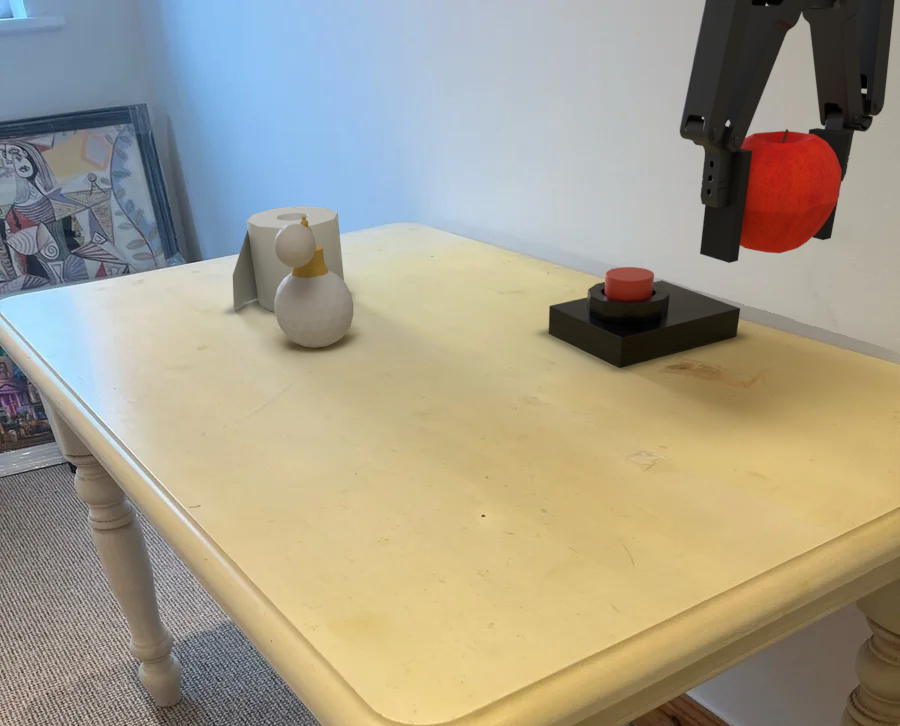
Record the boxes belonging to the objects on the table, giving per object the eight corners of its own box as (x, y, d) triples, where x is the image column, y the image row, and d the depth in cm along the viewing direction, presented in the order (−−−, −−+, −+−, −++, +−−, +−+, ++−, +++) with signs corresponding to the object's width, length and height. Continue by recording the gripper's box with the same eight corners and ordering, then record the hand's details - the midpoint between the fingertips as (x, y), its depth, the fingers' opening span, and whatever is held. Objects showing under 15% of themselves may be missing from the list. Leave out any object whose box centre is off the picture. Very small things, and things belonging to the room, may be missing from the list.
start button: (631, 286, 89) (633, 264, 88) (662, 297, 86) (664, 275, 85) (594, 294, 87) (595, 272, 86) (624, 306, 84) (626, 283, 83)
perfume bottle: (347, 326, 95) (335, 200, 88) (370, 358, 87) (359, 223, 80) (273, 336, 93) (255, 208, 86) (290, 369, 85) (272, 232, 78)
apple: (697, 263, 61) (710, 138, 57) (712, 232, 67) (725, 117, 63) (826, 270, 59) (850, 140, 54) (830, 237, 65) (852, 118, 60)
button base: (659, 306, 96) (664, 261, 94) (736, 336, 89) (743, 288, 86) (548, 333, 91) (549, 286, 88) (619, 367, 83) (623, 317, 80)
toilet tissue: (215, 313, 99) (200, 228, 94) (304, 281, 108) (295, 202, 103) (273, 329, 95) (261, 240, 90) (362, 294, 103) (355, 212, 98)
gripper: (902, -187, 56) (829, 211, 70) (633, -191, 48) (608, 261, 61) (1019, -204, 51) (916, 231, 64) (739, -212, 43) (687, 288, 56)
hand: (766, 245), depth 63 cm, fingers closed on apple, 8 cm apart
